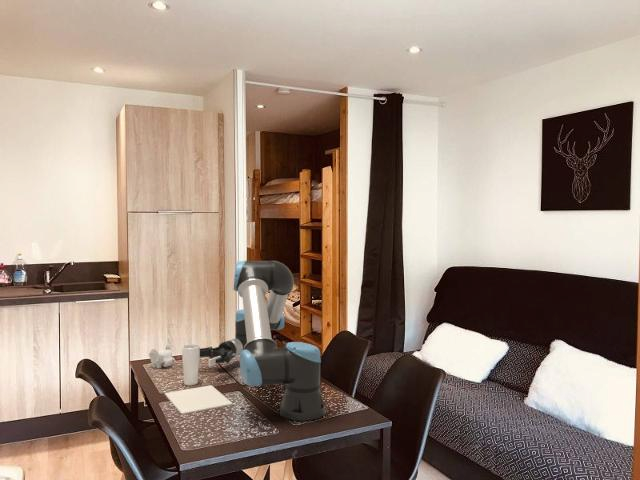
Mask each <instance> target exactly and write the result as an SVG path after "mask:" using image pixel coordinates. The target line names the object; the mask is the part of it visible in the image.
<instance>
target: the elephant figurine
mask: <svg viewBox="0 0 640 480" xmlns="http://www.w3.org/2000/svg"><path fill="white" fill-rule="evenodd" d="M148 355H149V359H150V364H151V367H152V368H154V369H155V368H156V369H161V368H162V366H163V367H166V368H167V367H169V366H172V365H173V363H174V362H175V363H177V362H176V360H175V358H174V357H173V351H172V347H171V345H170V344H166V346H165V349H161V350H157V349H154V348H152V349H151V350H150V351H149V353H148Z"/></svg>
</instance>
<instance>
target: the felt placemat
mask: <svg viewBox="0 0 640 480" xmlns="http://www.w3.org/2000/svg"><path fill="white" fill-rule="evenodd" d="M164 396H165V397H166V398H167V399H168V401H170V403H171V404H172V405H173V406H174V407H175V409H176V410H177V411H178V412H179V413H180V414H181V415H182V416H183V415H189V414H192V413H196V412H197V413H198V412H202V411H208V410H213V409H219V408H223V407H224V408H225V407H228V406H233V402H232V401H231V400H229V399H228V398H227V397H226V396H225V395H224V394H222V393H221V392H220V391H219V390H217V389H216V388H215V387H214V386H213V385H206V386H200V387H199V386H198V387H193V388H192V387H191V388H187V389H182V390H175V391H170V392H164Z"/></svg>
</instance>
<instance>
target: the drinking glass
mask: <svg viewBox="0 0 640 480" xmlns="http://www.w3.org/2000/svg"><path fill="white" fill-rule="evenodd" d="M200 349H201V348H200V345H199V344H194V343H193V344H191V343H190V344H189V343H188V344H184V345H183V346H182V350H181V359H182V360H181V361H182V371H183V384H184V386H187V387H188V386H196V385H198V383H199V370H200V369H199V368H200V358H201V357H200Z"/></svg>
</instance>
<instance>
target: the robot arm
mask: <svg viewBox="0 0 640 480" xmlns="http://www.w3.org/2000/svg"><path fill="white" fill-rule="evenodd" d="M294 285H295V281H294V275H293V273H292V272H291V270H290V269H289V267H288V266H287V265H285V263H282V262H280V261H278V260H240V261H236V263H235V267H234V279H233V291H235V292H237V293H238V296H239V297H240V298H242V305H243V306H242V307H243V308H242V309H238V310H236V311H235V321H234V322H235V324H234V325H235V335H234V336H235V338H232V339H229V340H226V341H224V342H223V341H222V342H221V343H219V345H218V346H216V347H213V346H208V347H203V348H200V358H201V357H210V359H208V367H209V368H211V367H213V366H216V365H219V364H221V363H222V364H223V363H226V364H229V363H230V361H232V360H233V358H235V357H238V356H239V360H238V361H239V369H240V373H241V377H242V381H243V383H244V385H246V386H249V387H251V386H252V387H255V386H256V387H260V386H271V385H285V392H284V393H283V397H282V399H281V403H280V405H279V413H280V415H281V416H282V417H283V418H285V419H288V420H292V421H298V422H300V421H301V422H303V421H304V422H305V421H306V420H308V421H313V419H314V420H317V419H319V418H321V417H324V415H325V412H326V411H325V410H326V409H325V407H326V406H325V402H324V398H323V396H322V395H323V394H322V392H321V363H322V360H321V350H320V348H319V347H318V346H316V345H313V344H310V343H307V342H301V341H291V342H287V343H286V345H285V347H279V348H278V344H277V342H276V341H275V340H274V339H273V338H272V332H271V331H277V330H283V329H284V328H285V323H286V322H285V315H284V313H283V312H284V309H285V306H286V302H287V300H288V296H289V294H290V293H291V292H292V290H293V287H294ZM268 291H270V292H269V296H268V300H267V298H266V294H267V293H268Z"/></svg>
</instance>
